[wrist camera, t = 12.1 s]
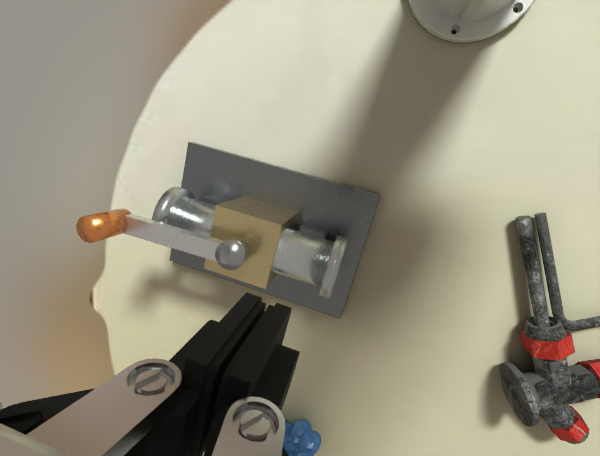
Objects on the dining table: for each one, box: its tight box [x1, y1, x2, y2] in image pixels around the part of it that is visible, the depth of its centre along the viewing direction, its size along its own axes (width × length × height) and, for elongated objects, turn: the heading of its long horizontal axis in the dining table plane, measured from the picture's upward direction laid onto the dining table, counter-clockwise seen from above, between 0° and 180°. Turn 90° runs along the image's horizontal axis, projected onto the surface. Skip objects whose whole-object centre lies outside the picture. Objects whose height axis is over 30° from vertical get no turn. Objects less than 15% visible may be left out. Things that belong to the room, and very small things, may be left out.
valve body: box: [152, 142, 380, 318], centre depth 37 cm, size 16×24×10 cm, turn 75°
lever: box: [76, 209, 249, 270], centre depth 30 cm, size 15×3×5 cm, turn 77°
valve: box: [499, 213, 600, 444], centre depth 35 cm, size 6×26×15 cm
